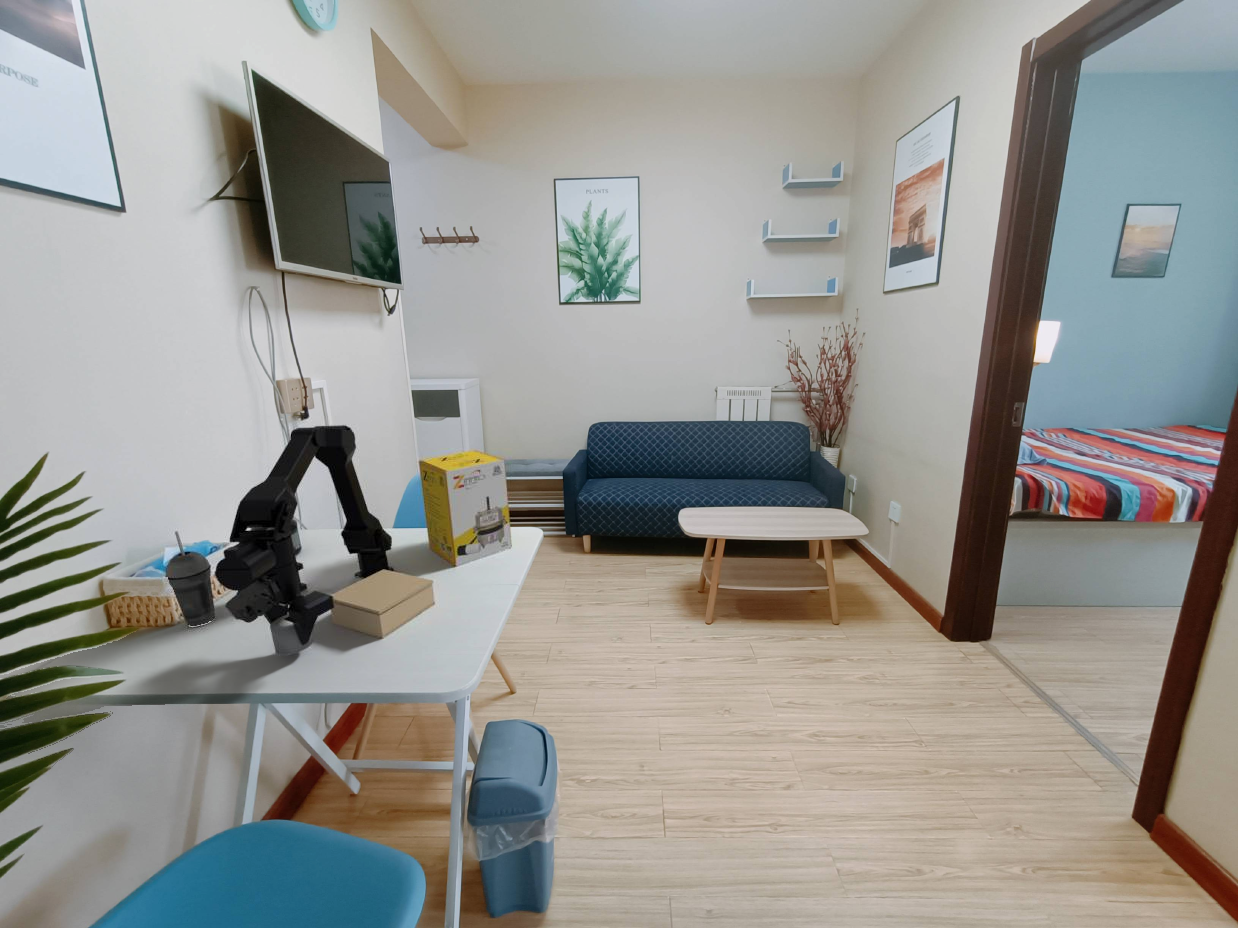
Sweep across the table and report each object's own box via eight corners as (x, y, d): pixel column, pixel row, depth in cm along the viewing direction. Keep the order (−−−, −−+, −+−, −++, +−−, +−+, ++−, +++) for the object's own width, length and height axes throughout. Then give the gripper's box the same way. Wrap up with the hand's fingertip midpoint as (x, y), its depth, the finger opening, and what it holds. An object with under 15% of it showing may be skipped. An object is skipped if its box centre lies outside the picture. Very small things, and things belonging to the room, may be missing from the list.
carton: (333, 623, 106) (329, 601, 105) (387, 592, 119) (384, 572, 118) (383, 638, 101) (379, 615, 100) (434, 603, 113) (432, 583, 112)
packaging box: (482, 532, 153) (475, 449, 147) (512, 547, 141) (504, 459, 135) (429, 548, 143) (418, 460, 136) (456, 566, 131) (445, 471, 125)
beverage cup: (187, 635, 104) (162, 542, 98) (173, 625, 107) (148, 535, 102) (229, 617, 110) (208, 529, 104) (214, 608, 113) (192, 523, 108)
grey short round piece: (267, 650, 94) (262, 626, 93) (299, 633, 100) (294, 609, 98) (289, 658, 92) (284, 633, 91) (320, 639, 97) (315, 615, 96)
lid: (327, 599, 105) (326, 597, 105) (383, 571, 118) (383, 569, 117) (379, 614, 99) (379, 611, 99) (433, 582, 112) (433, 580, 112)
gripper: (195, 573, 88) (215, 653, 92) (265, 593, 81) (283, 679, 85) (261, 548, 98) (277, 621, 102) (329, 563, 91) (343, 642, 95)
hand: (293, 640), depth 96 cm, fingers closed on grey short round piece, 6 cm apart
